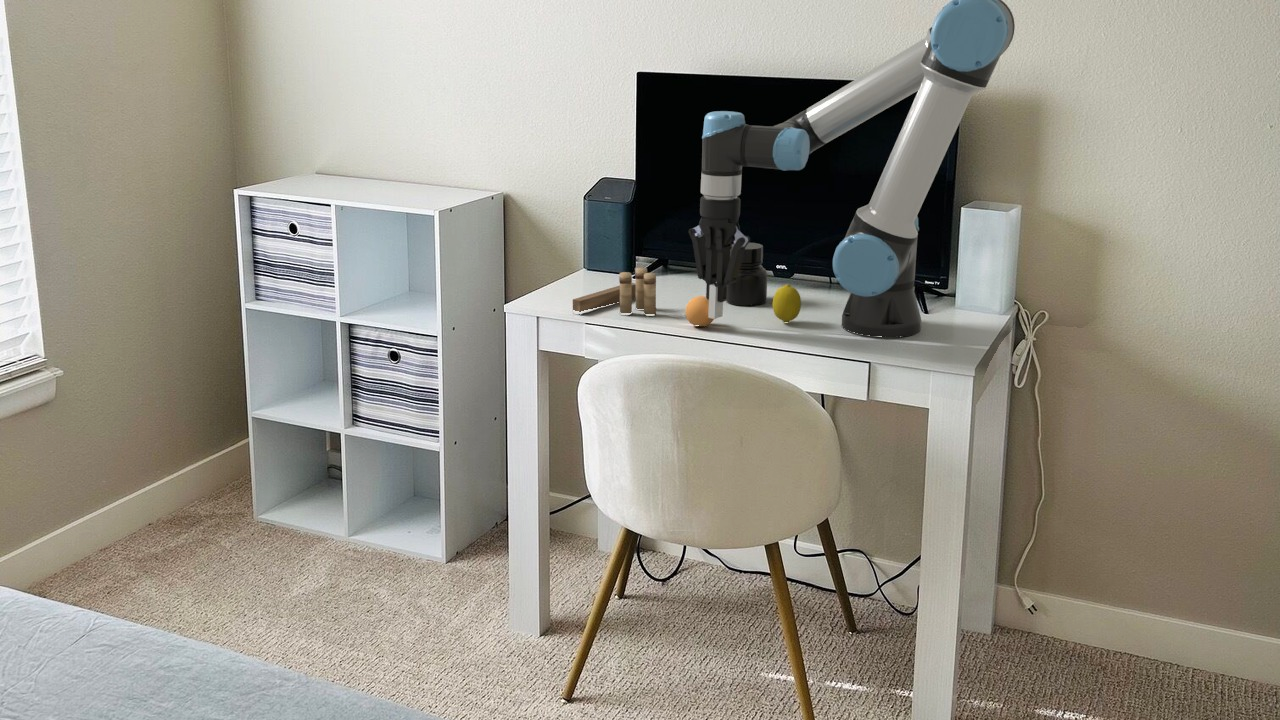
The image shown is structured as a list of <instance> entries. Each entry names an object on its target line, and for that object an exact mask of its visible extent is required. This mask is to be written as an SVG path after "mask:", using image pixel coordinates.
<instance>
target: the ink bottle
mask: <svg viewBox="0 0 1280 720" xmlns="http://www.w3.org/2000/svg"><path fill="white" fill-rule="evenodd" d="M734 245H735V243H732V248H731V250H730V257H731V253H732V249H733V247H734ZM763 259H764V246H763V244H760V243H756V242H749V243H748V245H747V246H746V247H745V251H744V254H743V258H742V262H741V266H740V269H739V273H738V277H737V281H736V282H734V283H731V284H728V285H727V299H726V301H725V302H727V303H728V304H730V305H734V306H743V307H746V306H749V307H751V306H758V305H763V304H765V303H766V302H767V301H768V300H767V296H768V271H767V270H766V268H764V267H763V265H762V264H763Z"/></svg>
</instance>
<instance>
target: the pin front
mask: <svg viewBox="0 0 1280 720" xmlns="http://www.w3.org/2000/svg"><path fill="white" fill-rule="evenodd" d="M656 286H657V274H656V273H655V272H647V273H645V274H644V310H643V314H644V313H645V314H655V313H656V314H657V287H656Z"/></svg>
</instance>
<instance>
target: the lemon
mask: <svg viewBox="0 0 1280 720" xmlns="http://www.w3.org/2000/svg"><path fill="white" fill-rule="evenodd" d="M801 300H802V299H801V294H800V293H799V291H798V290H797V288H795V287H793V286H791V285H790V284H788V283H786V284H785V285H784V286H781V287H779V288H778V289H777V290H776V291H775V293H774V296H773V299H772V309H773V310H772V311H773V313H774V315H775V317H776V318H777V319H778V320H781V321H782V322H783V323H784V322H788V323H789V322H790V321H793V320H795V318H797V317H798V315H799V314H800V312H801V309H802V302H801Z"/></svg>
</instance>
